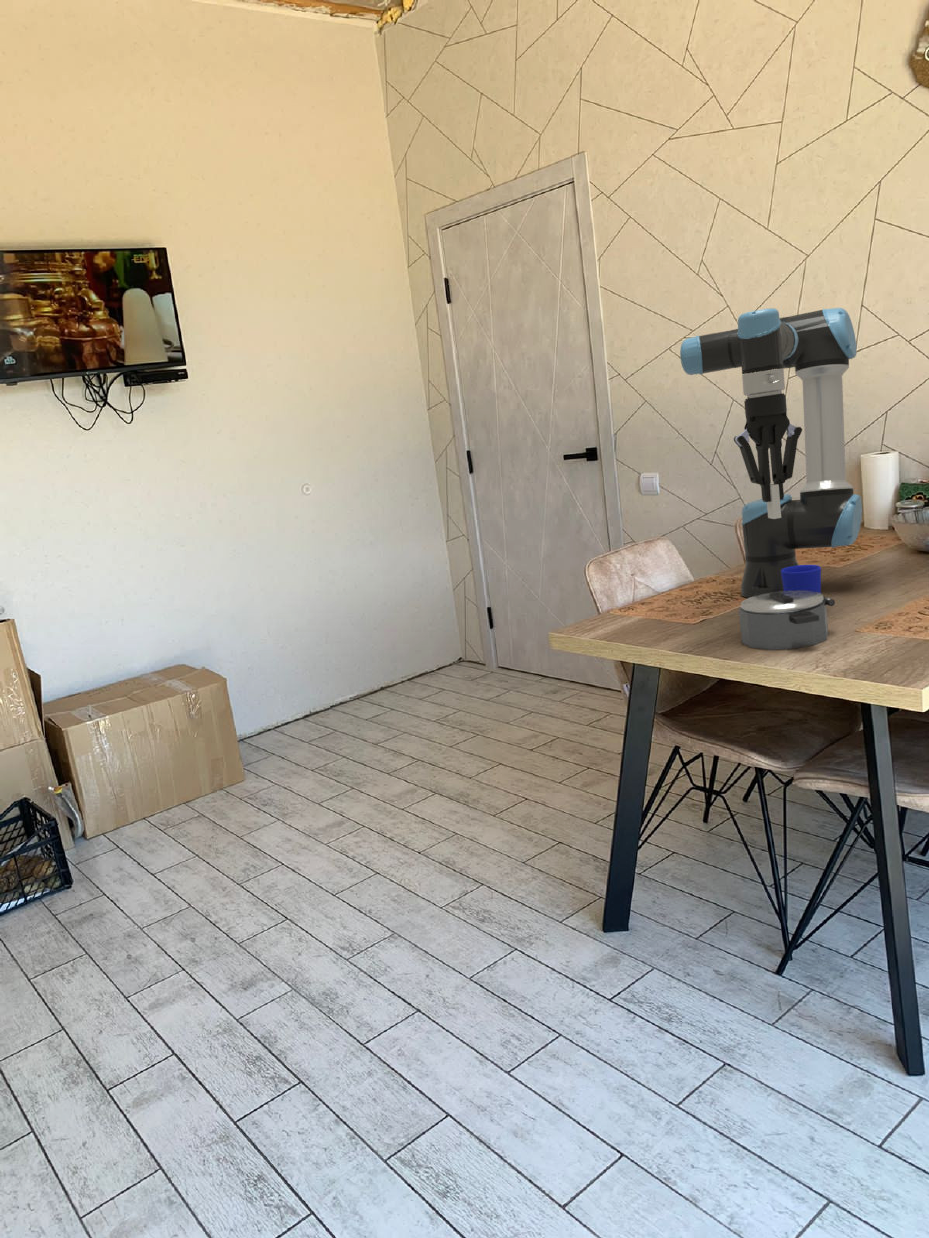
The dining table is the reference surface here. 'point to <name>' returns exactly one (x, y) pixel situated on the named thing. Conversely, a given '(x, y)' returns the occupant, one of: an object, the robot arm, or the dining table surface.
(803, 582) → the mug
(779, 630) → the pot
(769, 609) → the lid
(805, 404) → the robot arm
